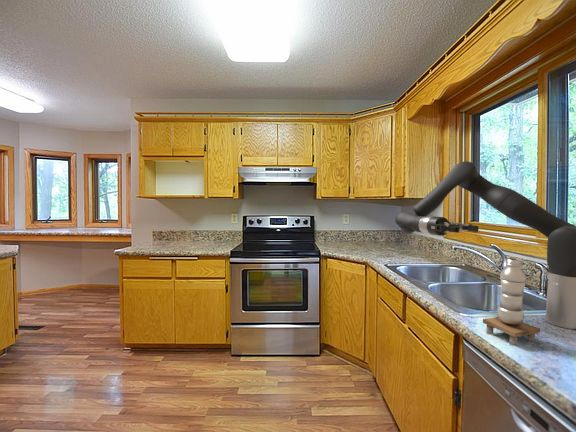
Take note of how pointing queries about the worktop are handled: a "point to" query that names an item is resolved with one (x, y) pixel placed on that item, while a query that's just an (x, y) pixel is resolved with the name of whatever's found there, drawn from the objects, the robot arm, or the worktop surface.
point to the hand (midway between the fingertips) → (468, 229)
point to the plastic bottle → (512, 293)
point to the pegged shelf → (511, 329)
